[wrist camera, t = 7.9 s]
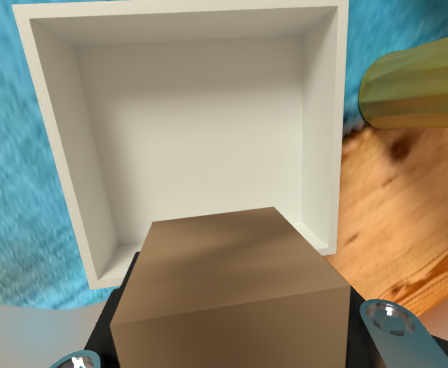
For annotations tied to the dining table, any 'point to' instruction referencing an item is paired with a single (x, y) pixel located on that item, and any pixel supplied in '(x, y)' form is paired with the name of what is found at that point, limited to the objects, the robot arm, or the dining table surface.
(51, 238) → the dining table surface
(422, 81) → the vase
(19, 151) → the dining table surface
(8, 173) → the dining table surface
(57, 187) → the dining table surface
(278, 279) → the walnut cube
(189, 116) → the box
